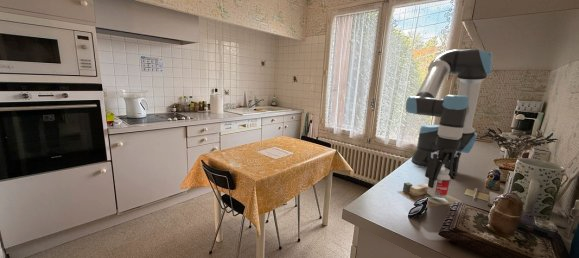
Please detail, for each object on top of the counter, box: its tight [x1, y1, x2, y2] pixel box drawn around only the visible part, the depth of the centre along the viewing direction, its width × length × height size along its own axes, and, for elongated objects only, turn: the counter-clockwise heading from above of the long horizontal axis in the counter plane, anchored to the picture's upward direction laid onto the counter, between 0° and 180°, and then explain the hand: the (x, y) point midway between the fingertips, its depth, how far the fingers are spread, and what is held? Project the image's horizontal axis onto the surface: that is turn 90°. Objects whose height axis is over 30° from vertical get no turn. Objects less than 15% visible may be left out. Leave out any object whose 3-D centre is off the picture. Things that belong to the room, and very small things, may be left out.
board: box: [396, 182, 463, 209], centre depth 95 cm, size 20×14×5 cm
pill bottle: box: [433, 166, 451, 198], centre depth 91 cm, size 6×6×11 cm
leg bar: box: [409, 183, 428, 196], centre depth 97 cm, size 14×4×4 cm, turn 114°
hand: (437, 193), depth 92 cm, fingers closed on pill bottle, 6 cm apart
